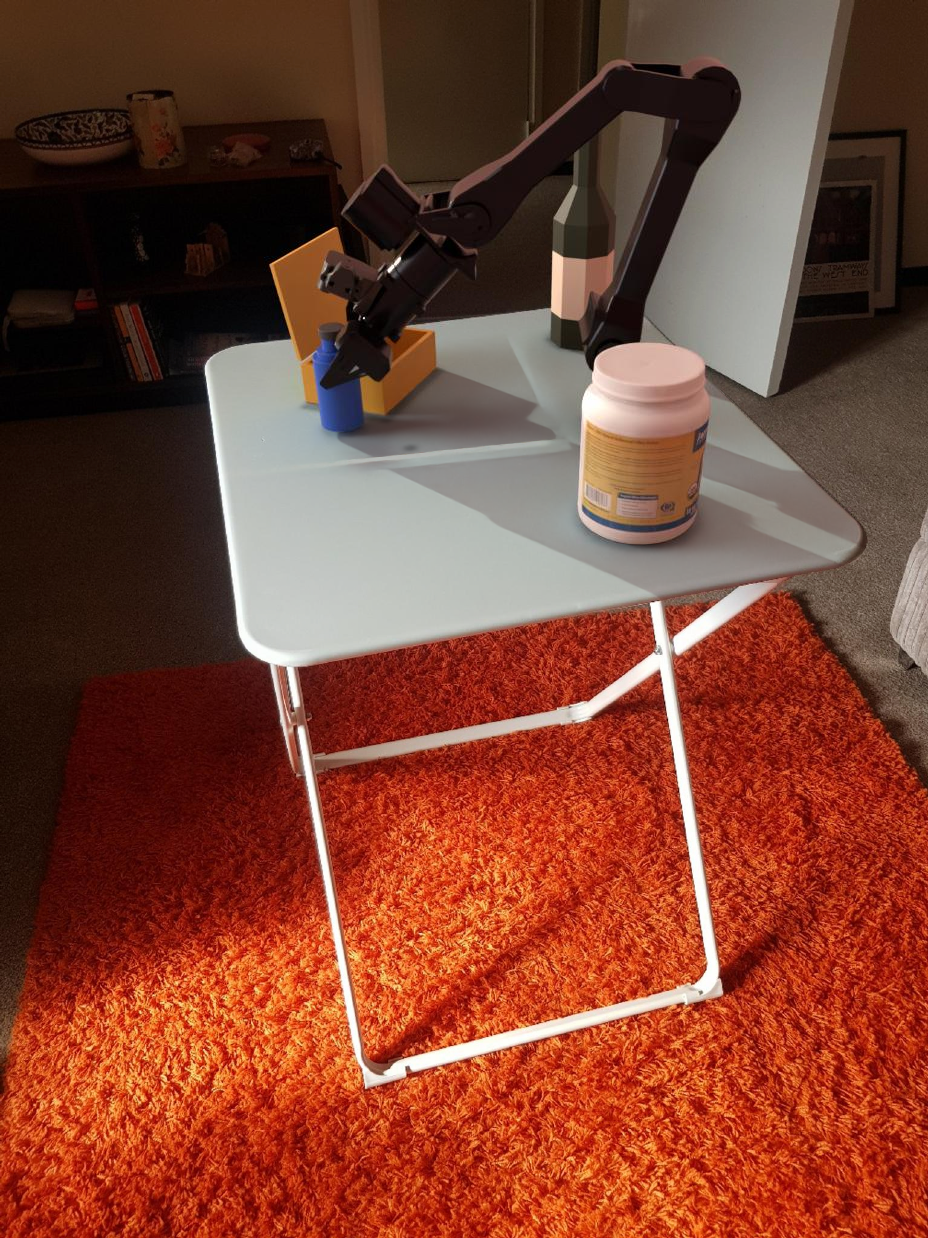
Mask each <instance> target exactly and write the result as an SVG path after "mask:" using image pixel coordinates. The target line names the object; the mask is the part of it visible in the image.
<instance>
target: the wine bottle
mask: <svg viewBox="0 0 928 1238" xmlns="http://www.w3.org/2000/svg"><path fill="white" fill-rule="evenodd" d="M602 141H603V129H602V130H601V131H600V132H598V133H597V134H596V135H595V136H594V137H593V138H591V139H590V140H589V141H588V142H587V143H586V144H584V145H583V146H582V147H581V148H580V149H579V150H577V151H576V152H575V153H574V154H573V178H572V185H571V186H570V187H571V188H570V189H569V191H568V193H567V194H566V195H565V198H564V199H563V201H562V203H561V204H560V206H559V208H558V210H557V211H556V212H555V215H554V217H553V218H552V220H553V222H552V255H551V258H552V260H551V263H552V264H551V298H550V299H551V300H550V301H551V303H550V341H552V342H553V343H554V344H555V345H556V346H558V347H559V348H562V349H569V350H575V351H576V350H577V351H584V348H583V344H582V339H581V333H580V328H579V323H578V321H579V320H580V319H581V318H582V317H583V315H584V313H585V311H586V309H587V305H588V299H589V295H590V292H591V291H593V292H595V293H597V294H599V295H602V294H603V293H604V292H605V290H606V289H607V288H608V287H609V285H610V284H611V282H612V281H613V278H614V262H615V259H614V258H615V244H616V229H617V228H616V227H617V215H616V213H615V211H614V209H613V207H612V205H611V204H610V202H609V200H608V198H607V195H606V194H605V192H604V190H603V188H602V186H601V183H600V179H601V163H602V162H601V161H602Z"/></svg>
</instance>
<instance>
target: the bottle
mask: <svg viewBox="0 0 928 1238" xmlns="http://www.w3.org/2000/svg"><path fill="white" fill-rule="evenodd" d="M343 327H344V325H343V324H341V323H326V324H323V325H321V326H319V327H318V332H319V338H320V339H321V341H322V345H320V346H319V347H318V348H317V350H316V351H315V352H314V353H312V355H313V356H312V355H311V356H312V360H313V367H314V374H315V382H316V389H317V396H318V403H319V404H318V410H319V417H320V424H321V427H322V428H323V429H325V430H326V431H329V432H334V433H346V432H351V431H354V430H356V429H358V428H361V427H362V426H363V425H364V424H365V414H364V413H365V412H364V411H363V402H362V393H361V384H360V378H358V379H355V380H352V381H349V382H347V383H344V384H341V385H338V386H336V387H333V388H330V389H328V390H326V389H324V388H323V387H321V386H320V384H319V383H320V381H321V379H322V377H323V376H324V374H325V372H326V371H327V369H328V367H329V366H330V364H331V362H332V361H333V359H334V357H335V356H336V354H337V352H338V350H337V348H336V346H335V345H334V344H335V341H336V336H337V333H338V330H339V329H340V330H341V329H342V328H343Z"/></svg>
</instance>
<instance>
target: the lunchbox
mask: <svg viewBox="0 0 928 1238" xmlns="http://www.w3.org/2000/svg"><path fill="white" fill-rule="evenodd" d="M386 343H388V344H389V345H390V346H391V347H392V356H393V359H392V364H391V369H390V372H389V373H388V374H387V375H386V376H385V377H384V378H383V379H382V380H381V381H380V382H376V381H374V380H373V379H371V378H370V377H369V376H365V377H361V378H360V384H361V393H362V402H363V411H364V413H370V414H375V415H382V416H386V415H387V414H388V413H389V412H390V411H391V410H392V409H394V407H395V406H397V405H398V404H399V403H400V402H401V401H402V400H403V399H404V398H405V397H406V396H407V395H409V394H410V393H411V392H412V391H413V390H414V389H415V388H416V387H417V386H418V385H420V383H422V382H423V381H424V380H425V379H426V378H427V377H428V376H429V375H430V374H431V373H432V372H434V370H435V369H437V367H438V365H437V364H438V363H437V347H436V345H437V344H436V331H435V330H431V329H423V328H417V327H416V328H415V327H409V326H406V327H405V328H404V329H403V330H402V335H401V338H400V339H399V340H398V342H397V343H396V344H395V343H393V342H392V341H391V340H390V339H389V338H388V337H387V338H386ZM312 356H313V354H311V355H310V356H309V357H307V358H306V359H305V360H303V361H302V363H300V369H301V370H300V372H301V378H302V385H303V392H304V399H305V402H306V403H311V404H317V405H319V403H318V396H317V389H316V382H315V374H314V367H313V360H312Z"/></svg>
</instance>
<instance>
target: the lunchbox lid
mask: <svg viewBox="0 0 928 1238" xmlns="http://www.w3.org/2000/svg"><path fill="white" fill-rule="evenodd" d="M330 250H334V251H337V252H340V253H342V254H345V252H344V247H343V244H342V241H341V237H340V232H339V228H338V227H332V228H331V229H329V230H327V231H325V232H324V233H322V234H320V235H319V236H316V237H315V238H313V239H312V240H310V241H308V242H306V243H305V244H303V245H301V246H300V247H298V248H296V249H294V250H292V251H291V252H289V253H286V255H284V256H282V257H280V258H279V259H277V260H275V261H273V262H272V263H270V264H269V268H270V270H271V274H272V278H273V281H274V286H275V288H276V291H277V295H278V299H279V302H280V305H281V308H282V312H283V314H284V319H285V322H286V325H287V328H288V332H289V336H290V338H291V343H292V345H293V349H294V352H295V355H296V356H295V357H296V359H297V361H298V362H304V361H305V360H306V359H308V358H309V357H310V356H312V355H313V354H314V353H315V352H317V348H318V347H319V346H320V345H322V341H321V339H320V338H319V332H318V327H319V326H321V325H323V324H326V323H341V324H343V325H344V326H345V325H346V323H347V318H346V306H347V302H348V300H346V299H344V298H341V297H339V296H336V295H334V294H331V293H328V294H327V293H324V292H322V291H321V290H319V289H318V288H317V283H318V280H319V277H320V274H321V271H322V268H323V265H324V262H325V259H326V257H327V254H328V252H329V251H330ZM354 303H356V302H354Z"/></svg>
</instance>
